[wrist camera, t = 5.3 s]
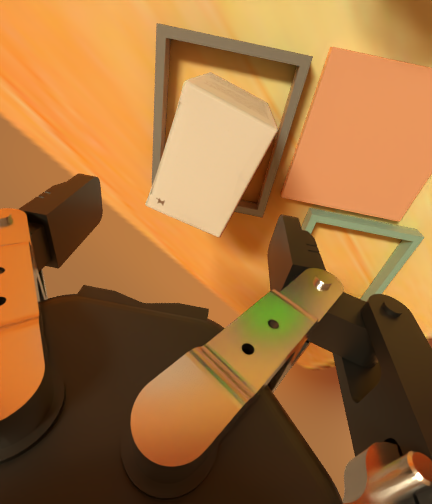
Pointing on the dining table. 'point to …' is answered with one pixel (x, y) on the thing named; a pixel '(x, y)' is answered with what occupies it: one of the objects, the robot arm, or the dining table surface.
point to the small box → (211, 153)
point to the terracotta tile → (365, 136)
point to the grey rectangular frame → (302, 61)
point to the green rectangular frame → (401, 253)
